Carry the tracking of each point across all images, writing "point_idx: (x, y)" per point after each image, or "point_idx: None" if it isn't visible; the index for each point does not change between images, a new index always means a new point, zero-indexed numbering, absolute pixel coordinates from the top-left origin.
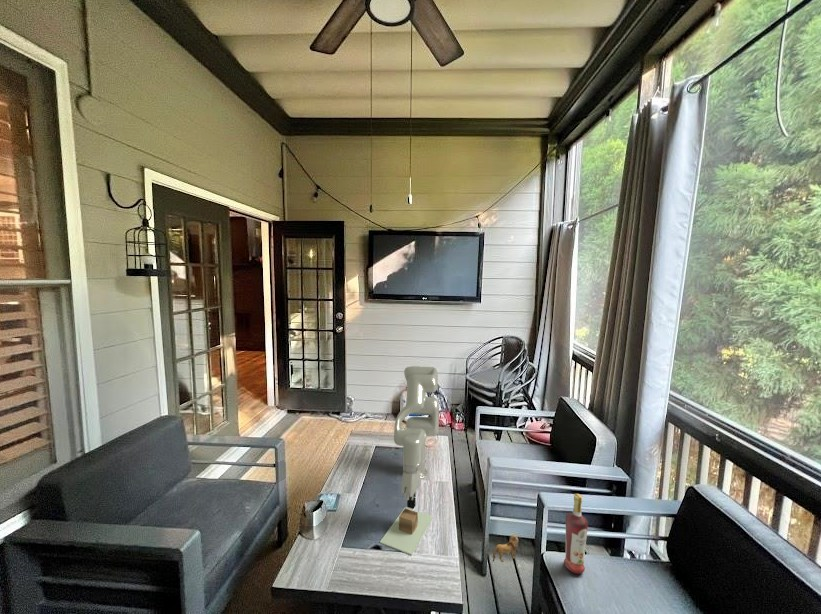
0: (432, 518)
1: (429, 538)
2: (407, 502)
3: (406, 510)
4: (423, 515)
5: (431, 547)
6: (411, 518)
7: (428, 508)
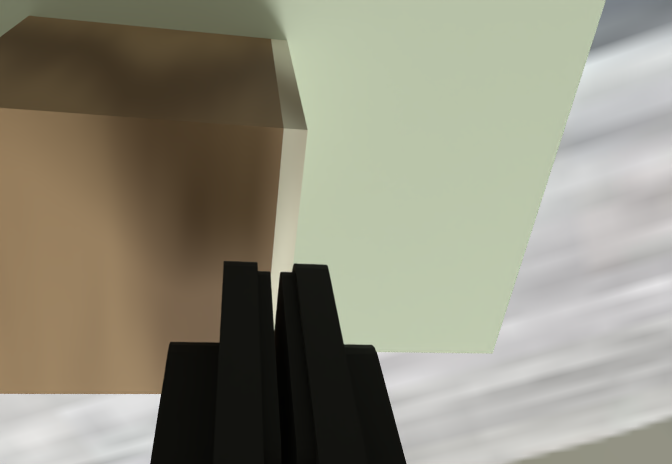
0: (458, 348)
1: (139, 401)
2: (222, 342)
3: (220, 188)
4: (481, 249)
5: (26, 451)
6: (32, 361)
7: (648, 245)
